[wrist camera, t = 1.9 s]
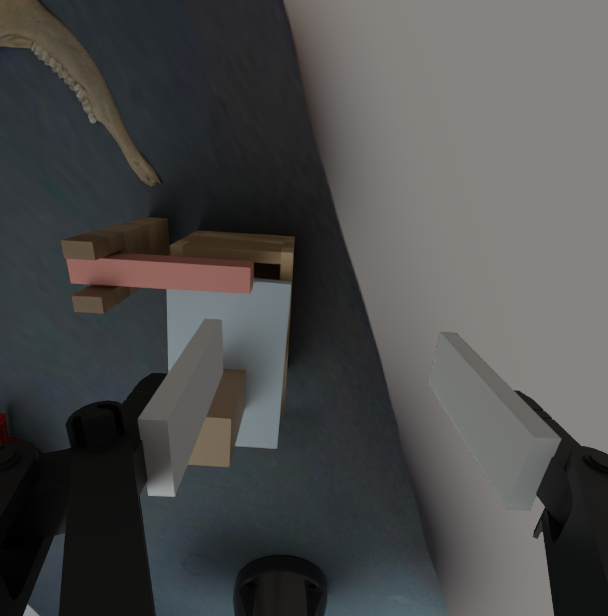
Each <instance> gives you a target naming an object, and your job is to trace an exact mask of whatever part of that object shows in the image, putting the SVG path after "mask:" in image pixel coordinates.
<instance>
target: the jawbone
mask: <svg viewBox="0 0 608 616" xmlns="http://www.w3.org/2000/svg"><path fill="white" fill-rule="evenodd" d="M38 21H39V22H40V23H39V22H38ZM0 47H10V48H29V49H32V50H31V51H33V52H34V53H35V55H37V56H38V59H39V60H43V61H44V64H45V65H46V66H47V65H49V66H51V68H52V71H53V73H55V72H57V73H58V76H59V78H60V79H61V78H64V82H65V84H68V85H70V89H71V90H73V91H75V92H76V93H77V95H76V96H77V97H78V99H79V101H81V102H82V107H83V109H84V111H85V112H86V113H87V114H88V117H89V120H90V122H91V123H93V124H94V123H96V122H97V121H99V122H101V123H103V124H104V125H105V127H106V128H107V130H108V131H109V132H110V133H111V135H112V136H113V137H114V138H115V140H116V141H117V142H118V144H119V146H120V147H121V150H122V151H123V153H124V155H125V157H126V159H127V161H128V162H129V164H130V166H131V167H132V169H133V170H134V171H135V173H136V174H137V175H138V176H139V178H140V179H141V180H142V181H143V182H145V183H146V184H147V185H149V186H151V187H152V186H155V185H156V183H158V184H160V185H161V182H160V180H159V178H158V176H157V174H156V172H155V171H154V169H153V168H152V166H151V165H150V164H149V163H148V162H147V160H146V159H145V158H144V157H143V156H142V155H141V153H140V152H139V151H138V149H137V148H136V146H135V145H134V143H133V142H132V140H131V139H130V137H129V135H128V133H127V131H126V129H125V127H124V125H123V122H122V120H121V117H120V115H119V112H118V110H117V107H116V105H115V102H114V100H113V98H112V95H111V93H110V91H109V88H108V86H107V84H106V82H105V80H104V78H103V76H102V74H101V72H100V71H99V69H98V67H97V66H96V64H95V63H94V61H93V60H92V58H91V57H90V56H89V54H88V53H87V52H86V50H85V49H84V48H83V46H82V45H81V44H80V43H79V41H78V40H77V39H76V38H75V37H74V36H73V34H72V33H71V32H70V31H69V30H68V29H67V28H66V27H65V26H64V25H63V24H62V23H61V22H60V21H59V20H58V19H57V18H56V17H55V16H54V15H52V14H51V13H50V12H49V11H48V10H47V9H46V8H45V7H44V6H43V5H42V4H41V3H40V2H39V1H38V0H0Z"/></svg>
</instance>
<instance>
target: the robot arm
mask: <svg viewBox="0 0 608 616" xmlns="http://www.w3.org/2000/svg"><path fill="white" fill-rule="evenodd" d="M222 375H223V340H222V320H220V319H204V320H203V322H202V323H201V325H200V326H199V328H198V329H197V331H196V332H195V334H194V335H193V337H192V338H191V340H190V341H189V343H188V344H187V346H186V347H185V349H184V350H183V352H182V353H181V355H180V356H179V358H178V359H177V361H176V362H175V364H174V365H173V367H172V368H171V370H170V371H169V373H168V374H163V373H151V374H150V375H148V376H147V377H145V378H144V379H142V380H141V381H140V382H139V383H138V384H137V385H136V387H135V388H134V389H133V392H131V393H130V394H129V396H128V397H127V400H125V401H124V402H123V403H122V404H121V403H119V402H116V401H101V402H95V403H92V404H89V405H86V406H84V407H82V408H80V409H79V410H77V411H75V412H74V413H73V414H72V415H71V416H70V417H69V418H68V420H67V422H66V429H67V433H68V437H69V441H70V445H71V448H69V449H65V450H60V451H54V452H49V453H44V454H38V452H37V449H36V447H35V445H34V444H32V443H30V442H27V441H15V442H11V443H7V444H3V445H0V616H23V614H24V611H25V609H26V606H27V604H28V601H29V599H30V596H31V594H32V591H33V589H34V586H35V583H36V581H37V578H38V576H39V573H40V571H41V568H42V566H43V563H44V561H45V558H46V556H47V553H48V551H49V548H50V546H51V543H52V540H53V538H54V535H58V534H62V533H65V543H64V555H63V568H62V581H61V593H60V606H59V616H156V614H155V607H154V599H153V592H152V584H151V577H150V569H149V562H148V554H147V547H146V539H145V532H144V525H143V517H142V510H141V502H140V496H139V495H140V493H141V491H142V489H143V487H144V485H145V483H146V482H147V489H148V496H173V497H175V495H176V493H177V490H178V487H179V485H180V482H181V480H182V477H183V475H184V472H185V470H186V467H187V464H188V462H189V459H190V457H191V454H192V452H193V449H194V446H195V444H196V441H197V439H198V436H199V434H200V431H201V429H202V426H203V423H204V421H205V418H206V416H207V413H208V411H209V408H210V405H211V403H212V400H213V398H214V395H215V393H216V390H217V388H218V385H219V382H220V380H221V377H222ZM428 384H429V386H430V388H431V389H432V391H433V393H434V394H435V396H436V397H437V399H438V401H439V402H440V404H441V406H442V407H443V409H444V410H445V412H446V414H447V415H448V417H449V419H450V420H451V422H452V423H453V425H454V427H455V428H456V430H457V432H458V433H459V435H460V436H461V438H462V440H463V441H464V443H465V444H466V446H467V448H468V449H469V451H470V453H471V454H472V456H473V457H474V459H475V461H476V463H477V464H478V466H479V467H480V469H481V471H482V472H483V474H484V476H485V477H486V479H487V480H488V482H489V484H490V485H491V487H492V489H493V490H494V492H495V493H496V495H497V496H498V498H499V500H500V502H501V503H502V505H503V506H504V508H505V509H510V510H530V509H531V507H532V505H533V502H534V500H535V498H536V496H538V498H539V499H540V500H541V502H542V503H543V504H544V506H545V509H544V511H543V513H542V515H541V517H540V519H539V522H538V524H537V526H536V528H535V530H534V535H533V537H534V538H538V537H539V534H540V533H541V532H543V535H544V543H545V550H546V557H547V565H548V573H549V580H550V587H551V595H552V602H553V610H554V616H608V454H606V453H604V452H602V451H599V450H596V449H594V448H589V447H585V446H581V445H580V444H579V443H577V442H576V441H575V440H574V439H573V438H572V437H571V436H570V435H569V434H568V433H567V432H566V431H565V430H564V429H563V428H562V427H561V426H559V424H558V423H557V422H555V420H552V418H551V417H550V416H549V415H548V414H547V413H546V412H545V411H543V409H542V408H541V407H540V406H539V405H538V404H537V403H536V402H535V401H534V400H533V399H531V398H530V397H528V396H526V395H525V394H523V393H521V392H520V391H514V390H512V388H511V387H509V386H508V384H507V383H506V382H505V381H504V380H503V379H501V377H500V376H499V375H497V373H496V372H495V371H494V370H493V369H492V368H491V367H489V365H488V364H487V363H486V362H485V361H483V359H482V358H481V357H480V356H479V355H478V354H477V353H476V352H475V351H474V350H473V349H472V348H471V347H470V346H469V345H468V344H467V343H466V342H465V341H464V340H463V339H462V338H461V337H460V336H459V335H458V334H457V333H448V332H440V334H439V339H438V342H437V347H436V351H435V355H434V359H433V363H432V368H431V372H430V376H429V380H428ZM233 605H234V614H235V616H324V614H325V609H326V605H327V586H326V579H325V577H324V575H323V573H322V572H321V571H320V570H319V569H318V568H317V567H316V566H314V565H313V564H311V563H309V562H307V561H305V560H302V559H299V558H295V557H288V556H273V557H267V558H262V559H259V560H256V561H254V562H252V563H250V564H248V565H247V566H245V567H244V568H243V569H242V570H241V571H240V572H239V574H238V576H237V578H236V581H235V588H234V594H233Z"/></svg>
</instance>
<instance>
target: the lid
mask: <svg viewBox="0 0 608 616" xmlns="http://www.w3.org/2000/svg"><path fill="white" fill-rule="evenodd" d="M291 283H292V281H281V280H270V279H259V278H254V282H253V288H252V290H251V293H250V294H242V293H226V292H209V291H192V290H176V289H167V327H168V370H169V371H170V370H171V368H172V367H173V365H174V364H175V362H176V361H177V359H178V358H179V356H180V355H181V353H182V352H183V350H184V349H185V347H186V346H187V344H188V343H189V341H190V340H191V338H192V337H193V335H194V334H195V332H196V331H197V329H198V328H199V326H200V325H201V323H202V322H203V320H204V319H220V320H222V340H223V375H222V377H221V380H220V382H219V385H218V388H217V390H216V393H215V395H214V398H213V400H212V403H211V405H210V408H209V411H208V413H207V416H206V418H205V421H204V423H203V426H202V429H201V431H200V434H199V436H198V439H197V441H196V444H195V446H194V449H193V452H192V454H191V457H190V459H189V462H188V465H204V466H219V467H230V463H231V459H232V455H233V452H234V448H235V446H243V447H257V448H272V449H277V443H278V432H279V420H280V409H281V397H282V386H283V374H284V363H285V351H286V340H287V329H288V317H289V306H290V294H291Z"/></svg>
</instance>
